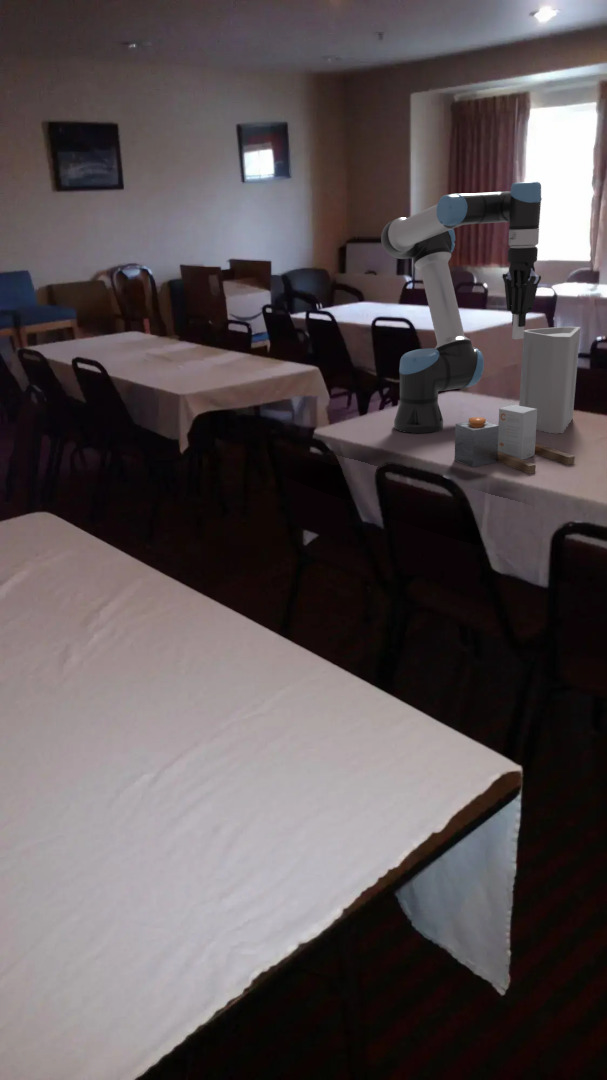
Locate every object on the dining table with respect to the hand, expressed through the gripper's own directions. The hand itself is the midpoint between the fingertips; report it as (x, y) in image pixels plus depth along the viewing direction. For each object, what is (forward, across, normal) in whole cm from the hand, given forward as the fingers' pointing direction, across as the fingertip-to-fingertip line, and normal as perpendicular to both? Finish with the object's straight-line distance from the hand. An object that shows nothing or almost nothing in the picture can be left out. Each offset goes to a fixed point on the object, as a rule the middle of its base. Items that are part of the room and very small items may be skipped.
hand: (517, 338), depth 218 cm
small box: (+30, +10, -7) cm, 32 cm away
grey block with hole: (+29, +8, -19) cm, 36 cm away
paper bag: (+30, -11, +21) cm, 38 cm away
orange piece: (+25, +8, -19) cm, 32 cm away
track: (+29, +14, -7) cm, 33 cm away
